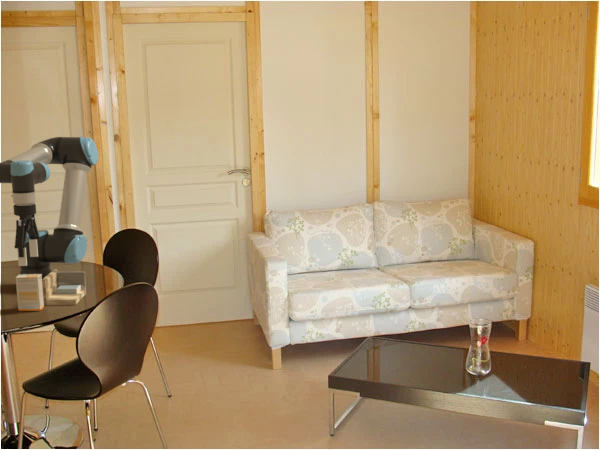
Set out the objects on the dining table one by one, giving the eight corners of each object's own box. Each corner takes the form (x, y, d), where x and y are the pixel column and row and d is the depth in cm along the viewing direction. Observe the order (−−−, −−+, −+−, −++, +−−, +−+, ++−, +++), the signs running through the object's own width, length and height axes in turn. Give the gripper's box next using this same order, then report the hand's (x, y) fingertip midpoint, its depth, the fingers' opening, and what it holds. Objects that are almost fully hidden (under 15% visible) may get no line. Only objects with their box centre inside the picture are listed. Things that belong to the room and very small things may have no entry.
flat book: (61, 289, 278) (61, 284, 278) (81, 289, 279) (80, 284, 278) (56, 294, 272) (56, 288, 272) (77, 293, 273) (76, 288, 272)
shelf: (55, 293, 280) (54, 269, 278) (86, 293, 281) (84, 269, 279) (43, 305, 264) (41, 279, 263) (75, 304, 265) (74, 279, 263)
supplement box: (44, 307, 262) (42, 273, 259) (40, 311, 257) (38, 276, 255) (22, 307, 262) (19, 273, 259) (17, 311, 257) (15, 276, 254)
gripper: (24, 198, 263) (28, 253, 267) (2, 209, 239) (6, 269, 243) (44, 198, 264) (48, 252, 268) (24, 209, 239) (28, 269, 244)
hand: (28, 261), depth 256 cm, fingers open, 13 cm apart
